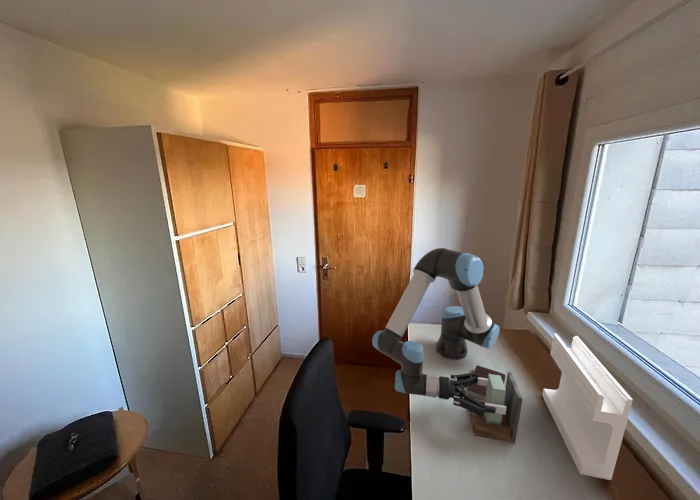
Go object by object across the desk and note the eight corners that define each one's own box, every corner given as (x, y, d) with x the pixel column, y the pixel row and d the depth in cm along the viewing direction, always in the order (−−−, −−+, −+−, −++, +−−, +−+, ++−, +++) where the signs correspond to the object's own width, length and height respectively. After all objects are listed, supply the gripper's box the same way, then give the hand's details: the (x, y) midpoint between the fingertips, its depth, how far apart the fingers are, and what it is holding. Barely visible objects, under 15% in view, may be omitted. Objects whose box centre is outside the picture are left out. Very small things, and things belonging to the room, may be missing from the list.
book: (505, 380, 138) (506, 373, 137) (499, 407, 122) (500, 400, 121) (475, 371, 144) (475, 364, 143) (466, 395, 128) (466, 388, 127)
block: (611, 480, 93) (632, 399, 86) (580, 473, 95) (598, 394, 88) (564, 399, 126) (577, 336, 119) (542, 395, 128) (553, 333, 121)
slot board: (468, 406, 121) (473, 367, 117) (505, 412, 119) (511, 372, 114) (474, 435, 108) (479, 392, 104) (515, 443, 105) (522, 398, 101)
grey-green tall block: (483, 411, 117) (488, 373, 113) (495, 413, 116) (500, 375, 112) (487, 427, 110) (493, 388, 106) (500, 430, 109) (505, 390, 105)
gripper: (436, 374, 127) (492, 382, 123) (438, 421, 104) (508, 433, 99) (437, 358, 125) (494, 365, 121) (440, 401, 102) (511, 413, 97)
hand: (501, 396), depth 110 cm, fingers open, 13 cm apart
